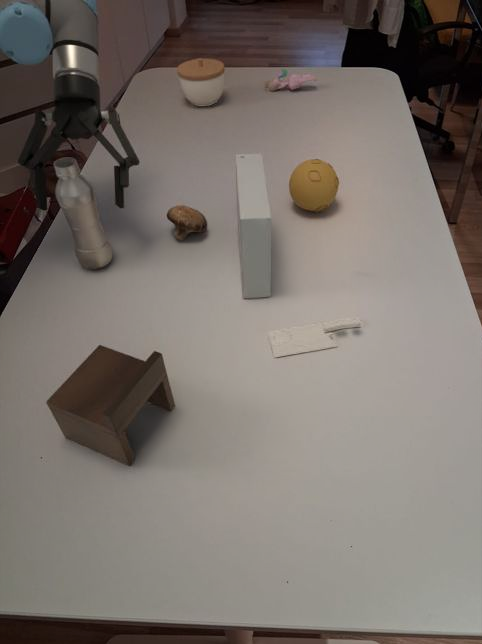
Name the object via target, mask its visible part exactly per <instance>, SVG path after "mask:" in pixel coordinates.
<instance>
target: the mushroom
mask: <svg viewBox="0 0 482 644" xmlns="http://www.w3.org/2000/svg"><path fill="white" fill-rule="evenodd" d="M166 218H167V220H169V222H170V223H172V224H174V228H173V230H172V233H173V235H174V236H175V237H176V238H177V239H178V240H181V241H184V240H185V239H186V238H187V236H188V235H189V234H190V233H193V232H195V233H203V232H206V231H207V229H208V221H207V218H206V216H205V215H204V214H203V213H202V212H201V211H199V210H197V209H195V208H192V207H190V206H187V205H185V204H180V205H175V206H172V207H170V208H169V209H168V211H167V213H166Z"/></svg>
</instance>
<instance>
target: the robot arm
mask: <svg viewBox="0 0 482 644" xmlns="http://www.w3.org/2000/svg"><path fill="white" fill-rule="evenodd" d="M99 19H100V18H99V13H98V4H97V0H0V51H1V52H2V53H3V54H4V55H5V56H7V57H8V58H9V59H11V60H12V61H14V62H15V63H17V64H20V65H24V66H34V65H38V64H40V63H42V62H44V61H45V60H46V59H47V58H48V57H49V55H50V53H51V52H52V77H53V79H54V80H53V83H52V84H53V86H52V87H53V103H54V105H53V106H54V108H53V110H52V112H47V111H43V110H42V109H40V108H39V109H36V110H35V113H34V123H33V125H32V127H31V130H30V131H29V134H28V136H27V139H26V140H25V142H24V145H23V147H22V150H21V152H20V154H19V157H18V159H17V163H18V164H19V165H20V166H22V167H23V168H25V169H27V170H29V184H30V188H31V189H32V190H34V191H35V208H37V209H39V210H41V211H48V191H47V189H48V188H47V187H48V186H47V172H46V171H45V170H43V169H44V168H45V167H46V165H47V164H48V163H49V161H50V160H51V159H52V158H53V156H54V155H55V153H56V152H57V151H58V150H59V149H60V147H61V146H62V144H65V143H66V142H67V141H68V139H70V140H72V141H73V140H76V141H77V140H79V139H82V140H90V138H92V137H93V136H94V137H95V138H96V140H97V141H98V142H99V143H100V145H102V147H103V148H104V149H105V150H106V151H107V152H108V153H109V154H110V156H111V157H112V158H113V159H114V161H116V163H117V164H118V165H113V175H114V176H113V177H114V178H113V179H114V205H115V206H116V207H118V208H119V209H125V188H129V186H130V168H132V167H134V166H135V167H136V166H139V165H140V159H139V157H138V155H137V153H136V152H135V149H134V148H133V146H132V144H131V142H130V140H129V139H128V137H127V134H126V133H125V131H124V129H123V127H122V125H121V118H120V117H121V116H120V113H118V111H117V110H116V108H115V107H114V106H109V107H108V109H105V110H101V87H100V85H99V84H100V58H99V21H100V20H99ZM104 120H105V121H106V122H107V124H109V125H111V128H112V130H113V132H114V133H115V135H116V138H117V139H118V141H119V143H120V145H121V147H122V148H123V150H124V152H125V154H126V156H127V157H123V156H122V154H121V153H120V152H119V151H118V150H117V149H116V148H115V146H113V145H112V143H111V142H110V141H109V140H108V139H107V137H106V136H105V135H104V134H103V133H102V131H100V130H99V127H100V126H101V124H102V123H103V121H104ZM52 122H54V123H55V125H54V126H53V128H52V129H51V131H50V134H49V136H48V137H47V138H46V140H45V141H44V139H45V136H46V134H47V132H48V128H49V127H51V124H52ZM43 141H44V142H43Z"/></svg>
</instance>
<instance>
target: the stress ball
mask: <svg viewBox="0 0 482 644" xmlns="http://www.w3.org/2000/svg"><path fill="white" fill-rule="evenodd" d="M288 182H289V183H288V191H289V194H290V197H291V199H292V201H293V202H294V204H296V205H297V206H298V207H299V208H301V209H303V210H306V211H309V212H310V211H311V212H315V213H319V212H322V211H325V210H327V209H328V208H329V206H330V205H331V204H332V202H333V201H334V200H335V199H336V196H337V194H338V190H339V185H340V179H339V177H338V174H337V173H336V170H335V169H334V167H333V165H331V164H330V163H329V162H326V161H325V160H321V159H319V158H313V159H308V160H305V161H302V162H300V163H299V164H298V165H297V166H296V167H295V168H294V170H293V171H292V172H291V175H290V177H289V180H288Z"/></svg>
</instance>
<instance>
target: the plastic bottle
mask: <svg viewBox="0 0 482 644" xmlns="http://www.w3.org/2000/svg"><path fill="white" fill-rule="evenodd" d="M53 168H54V171H55V175H56V177H57V178H58V180H57V182H56V184H55V188H54V197H55V199H56V201H57V203H58V205H59V207H60V209H61V211H62V213H63V215H64V218H65V219H66V223H67V225H68V227H69V229H70V233H71V238H72V241H73V247H74V248H73V249H74V254H75V258H76V260H77V261H78V263H79V264H80V265H81V266H83V267H84V268H86V269H88V270H89V269H91V270H97V269H101V268H104V267H106V266H107V265H108V264H109V263H110V262H111V261H112V259H113V247H112V245H111V242H110V241H109V239H108V237H107V235H106V233H105V230H104V228H103V225H102V223H101V219H100V215H99V209H98V203H97V196H96V191H95V186H94V185H93V183H92V182H91V181H90V180H89V179H88V178H87V177H85V176H83V174H81V168H80V166H79V163H78V161H77V159H76V158H74V157H70V156H69V157H67V156H66V157H61V158H58V159H56V160H54V162H53Z"/></svg>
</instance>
